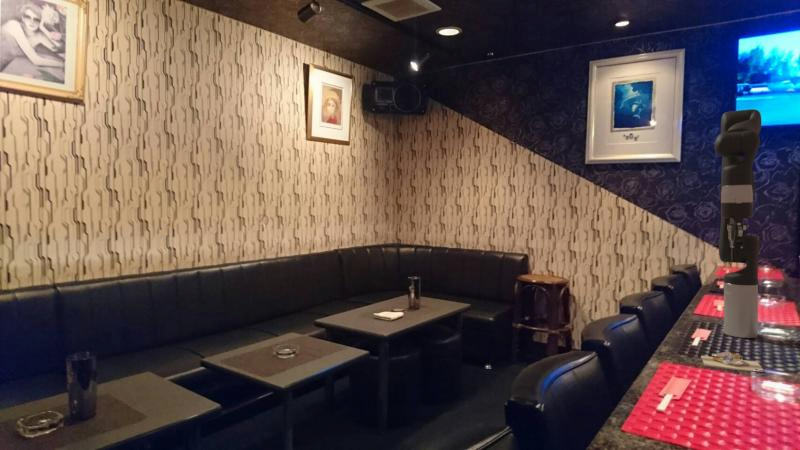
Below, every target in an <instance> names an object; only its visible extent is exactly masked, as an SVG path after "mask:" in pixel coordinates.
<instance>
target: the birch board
mask: <svg viewBox="0 0 800 450" xmlns="http://www.w3.org/2000/svg"><path fill="white" fill-rule="evenodd" d="M700 357H701V361H702V362H703V365H704V367H705V368H715V369H724V370H734V371H743V372H744V371H745V372H751V373H753V372H752V371H753V370H755V369H758V370H764V369H763V367H762V366H761V364H760V363H759V362H758V361H756V360H745V359H742V361H738V362H734V363H729V364H725V363H723V362H720V361H716V360H714V359H712V356H709V355H708V356H707V355H701V356H700ZM716 358H719V359H722V358H721V357H716ZM724 361H726V360H724ZM727 361H729V360H727Z"/></svg>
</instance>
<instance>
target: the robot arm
mask: <svg viewBox="0 0 800 450" xmlns="http://www.w3.org/2000/svg"><path fill="white" fill-rule="evenodd" d="M761 130H762V115H761V112H760V111H759V110H758V109H755V108H749V109H741V110H731V111H727V112H726V111H725V112H724V113H723V114H722V116H721V121H720V134H719V135H718V136H717V137H716V139H715V142H714V150H715V153H716V154H717V155H718V156H719V157H722V158H721V161H722V162H721V178H720V181H721V182H720V227H719V240H718V255H719V259H720V261H721V262H724V263H731V264H732V263H734V264H735V263H736V264H737V263H739V264H746V265H745V266H744V267H743V268H741V269H739V270H735V271H732V272H728V273H727V272H726V273H725V274H724V276H723V333H724V334H725V335H727V336H730V337H734V338H735V337H736V338H741V339H745V338H746V339H755V338H758V337H759V336H758V335H759V334H758V331H759V330H758V329H759V278H758V277H759V275H758V274H759V255H760V241H759V239H758V237H757V236H756V235H748V234H746V233H747V224H745V223H744V222H745V221H744V219H749V218H752V217H753V214H754V211H753V210H754V208H753V207H754V206H753V205H754V196H755V179H756V178H755V175H754V173H753V167H754V162H755V158H756V155H757V154H758V150H759V147H760V143H761V138H760V136H759V134H760V133H761ZM742 157H743V159H742Z"/></svg>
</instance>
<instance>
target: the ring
mask: <svg viewBox="0 0 800 450" xmlns="http://www.w3.org/2000/svg"><path fill="white" fill-rule="evenodd" d="M711 357H712V359H714V360H716V361H720V362H723V363H725V364H729V363H734V362H738V361H742V360H743V356H742V355H741V354H737V353H732V352H730V351H723V352H718V353H711ZM716 357H718V358H716ZM719 358H722V359H719ZM724 360H726V361H724ZM727 360H729V361H727Z"/></svg>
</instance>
